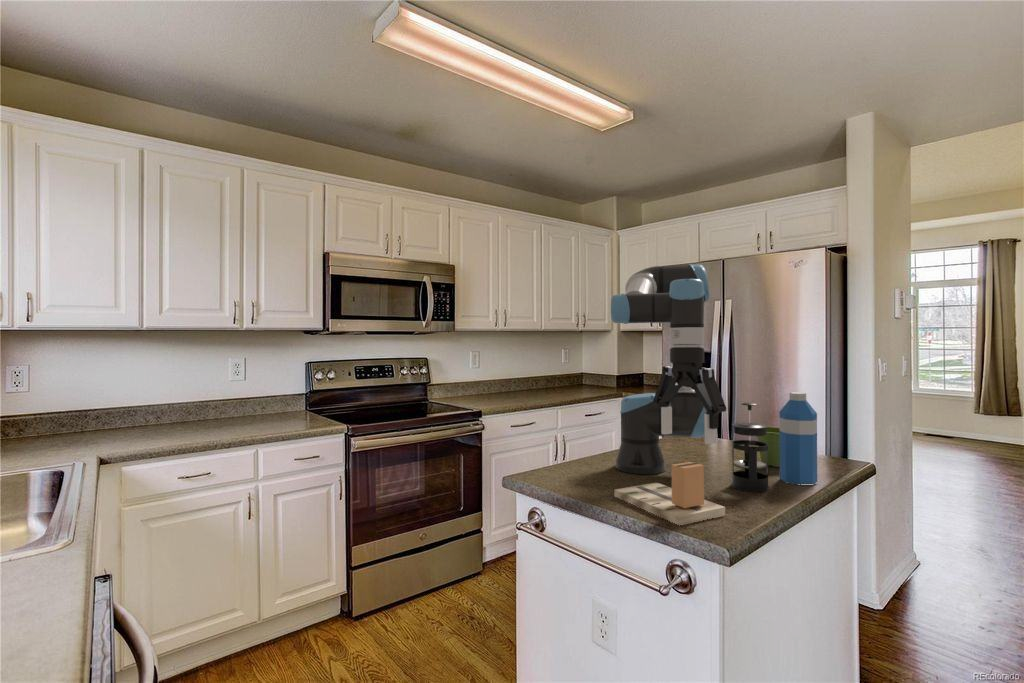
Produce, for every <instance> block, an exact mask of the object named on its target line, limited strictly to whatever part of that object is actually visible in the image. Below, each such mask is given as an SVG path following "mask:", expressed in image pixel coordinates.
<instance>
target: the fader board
mask: <svg viewBox="0 0 1024 683" xmlns="http://www.w3.org/2000/svg"><path fill="white" fill-rule="evenodd" d="M613 493H614V494H613V496H615V497H618V498H620V499H622V500H624V501H627V502H629V503H631V504H633V505H636V506H637V507H636V508H638V507H640V508H642V509H644V510H646V511H645V512H647V511H648V512H647V513H649V512H651V513H653V514H655V515H654V516H656V515H657V516H656V517H658V516H659V517H658V518H660V517H661V518H660V519H662V518H664V519H663V520H665V519H666V520H665V521H667V520H668V521H667V522H669V521H670V523H672V522H673V523H672V524H674V523H675V524H674V525H676V524H677V525H676V526H678V525H679V526H678V527H680V525H681V526H685V525H689V524H694V522H695V523H699V522H703V520H704V521H708V520H713V519H717V518H722V517H726V506H723V505H721V504H717V503H715V502H712V501H709V500H706V499H704V505H699V506H694V507H689V508H682V507H680V506H677V505H675V504H672V486H671V487H670V486H668V485H665V484H662V483H659V482H651V483H645V484H639V485H633V486H632V485H631V486H626V487H621V488H615V489H614V490H613ZM615 497H614V498H615ZM620 499H619V500H620ZM622 500H621V501H622ZM624 501H623V502H624ZM629 503H628V504H629ZM631 504H630V505H631ZM633 505H632V506H633ZM640 508H639V509H640ZM642 509H641V510H642ZM644 510H643V511H644ZM651 513H650V514H651ZM653 514H652V515H653ZM712 518H713V519H712ZM707 519H708V520H707Z"/></svg>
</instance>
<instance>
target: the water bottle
mask: <svg viewBox="0 0 1024 683" xmlns="http://www.w3.org/2000/svg"><path fill="white" fill-rule="evenodd" d="M811 405H812V404H810V403H809V402H808V400H807V393H805V392H798V391H797V392H793V391H792V392H789V400H788V401H787V402H786V403H785V405H784V406H783V407H782V408H781V409H780V411H779V419H778V420H779V424H778V425H779V429H780V467H779V480H780V479H781V480H783V481H785V482H788V483H793V484H792V485H794V484H800V485H801V484H814V483H816V482H817V483H818V413H817V412H816V410H815V409H814V408H813V407H812V406H811ZM781 480H780V481H781ZM783 481H782V482H783ZM785 482H784V483H785ZM788 483H787V484H788Z"/></svg>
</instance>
